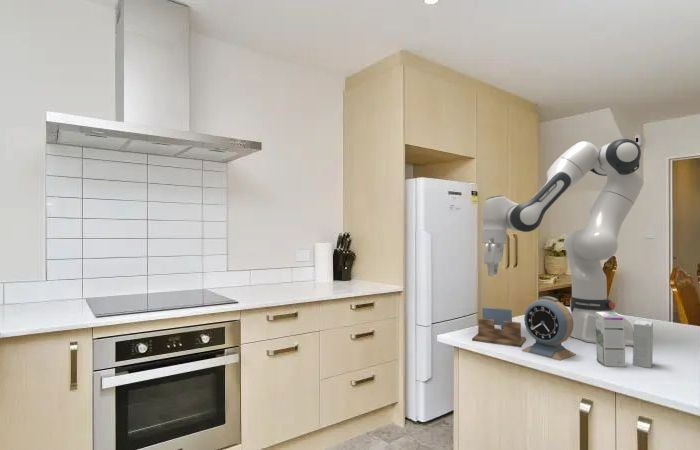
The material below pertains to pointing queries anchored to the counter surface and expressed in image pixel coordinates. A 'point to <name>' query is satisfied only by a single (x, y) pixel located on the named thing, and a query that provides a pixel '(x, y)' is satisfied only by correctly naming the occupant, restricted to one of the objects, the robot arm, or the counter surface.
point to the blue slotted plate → (497, 315)
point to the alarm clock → (549, 328)
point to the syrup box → (610, 339)
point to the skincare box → (643, 343)
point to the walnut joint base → (499, 333)
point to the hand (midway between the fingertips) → (492, 275)
